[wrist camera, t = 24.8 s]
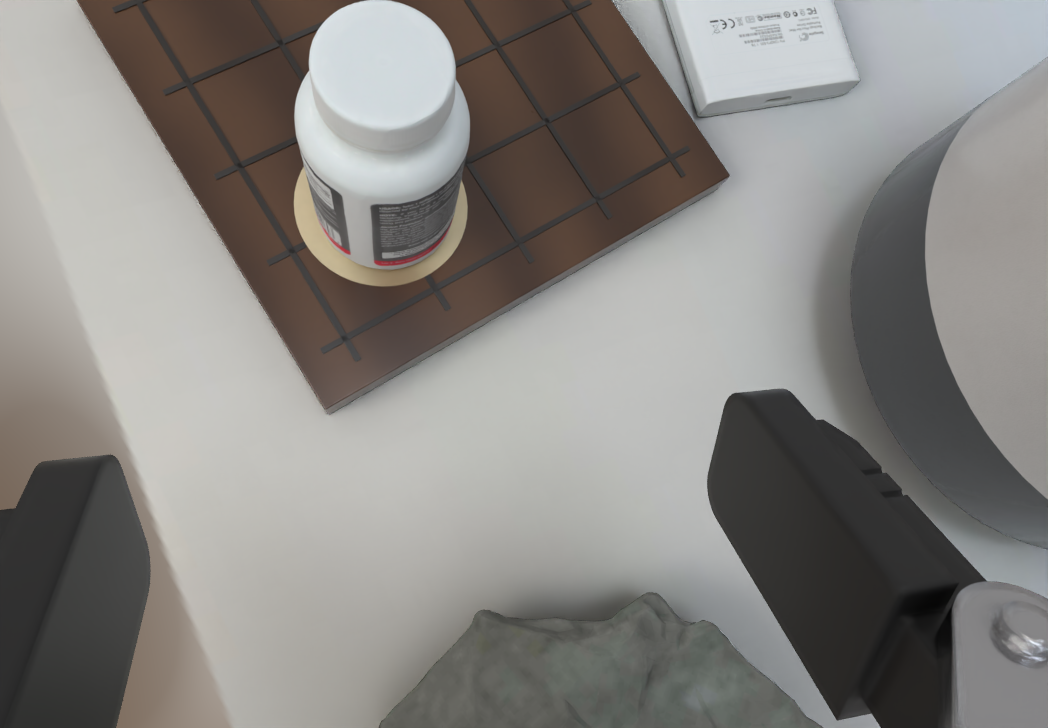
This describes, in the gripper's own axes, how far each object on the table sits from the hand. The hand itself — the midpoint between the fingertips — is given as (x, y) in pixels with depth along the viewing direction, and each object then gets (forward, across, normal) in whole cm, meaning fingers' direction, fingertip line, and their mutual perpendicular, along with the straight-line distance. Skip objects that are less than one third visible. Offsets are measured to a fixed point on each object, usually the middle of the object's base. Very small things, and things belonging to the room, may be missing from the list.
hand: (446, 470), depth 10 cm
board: (+26, -2, +2) cm, 26 cm away
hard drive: (+30, -18, -2) cm, 35 cm away
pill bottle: (+21, 0, +5) cm, 22 cm away
